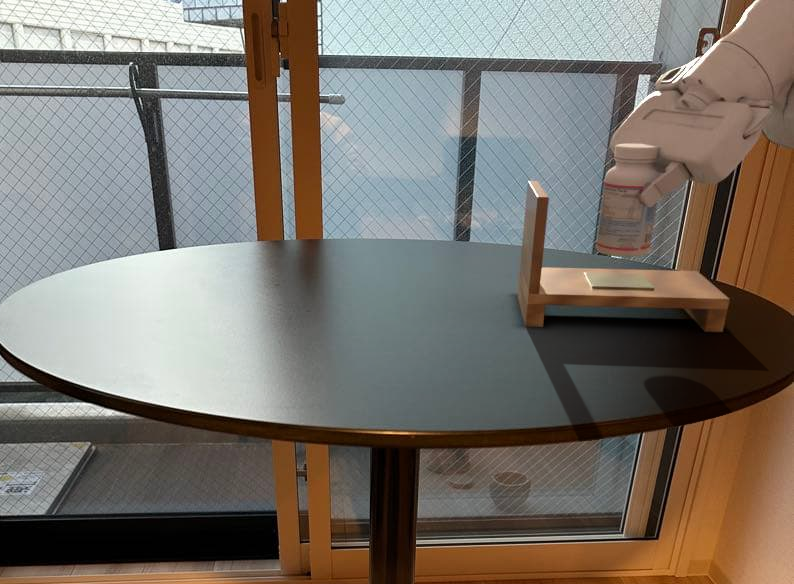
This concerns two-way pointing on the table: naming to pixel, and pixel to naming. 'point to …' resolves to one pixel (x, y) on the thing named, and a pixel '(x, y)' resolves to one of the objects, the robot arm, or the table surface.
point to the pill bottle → (627, 202)
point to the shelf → (606, 281)
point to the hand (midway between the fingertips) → (624, 197)
